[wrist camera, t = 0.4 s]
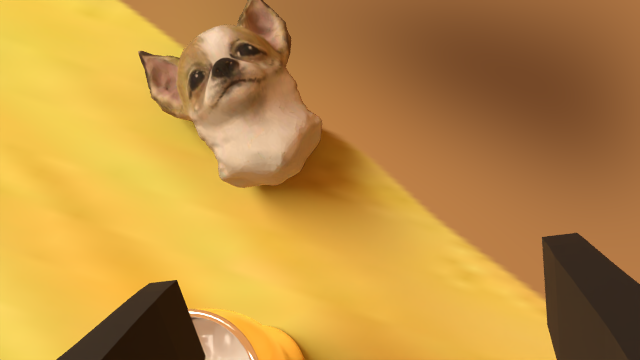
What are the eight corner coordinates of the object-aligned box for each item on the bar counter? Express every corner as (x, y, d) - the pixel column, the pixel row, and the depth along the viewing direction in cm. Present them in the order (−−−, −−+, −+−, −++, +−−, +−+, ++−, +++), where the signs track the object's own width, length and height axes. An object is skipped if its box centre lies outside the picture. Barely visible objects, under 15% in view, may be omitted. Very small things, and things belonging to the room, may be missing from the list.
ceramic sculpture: (191, 206, 33) (91, 10, 38) (233, 241, 42) (147, 75, 47) (359, 108, 34) (239, -72, 39) (368, 162, 42) (268, 7, 47)
